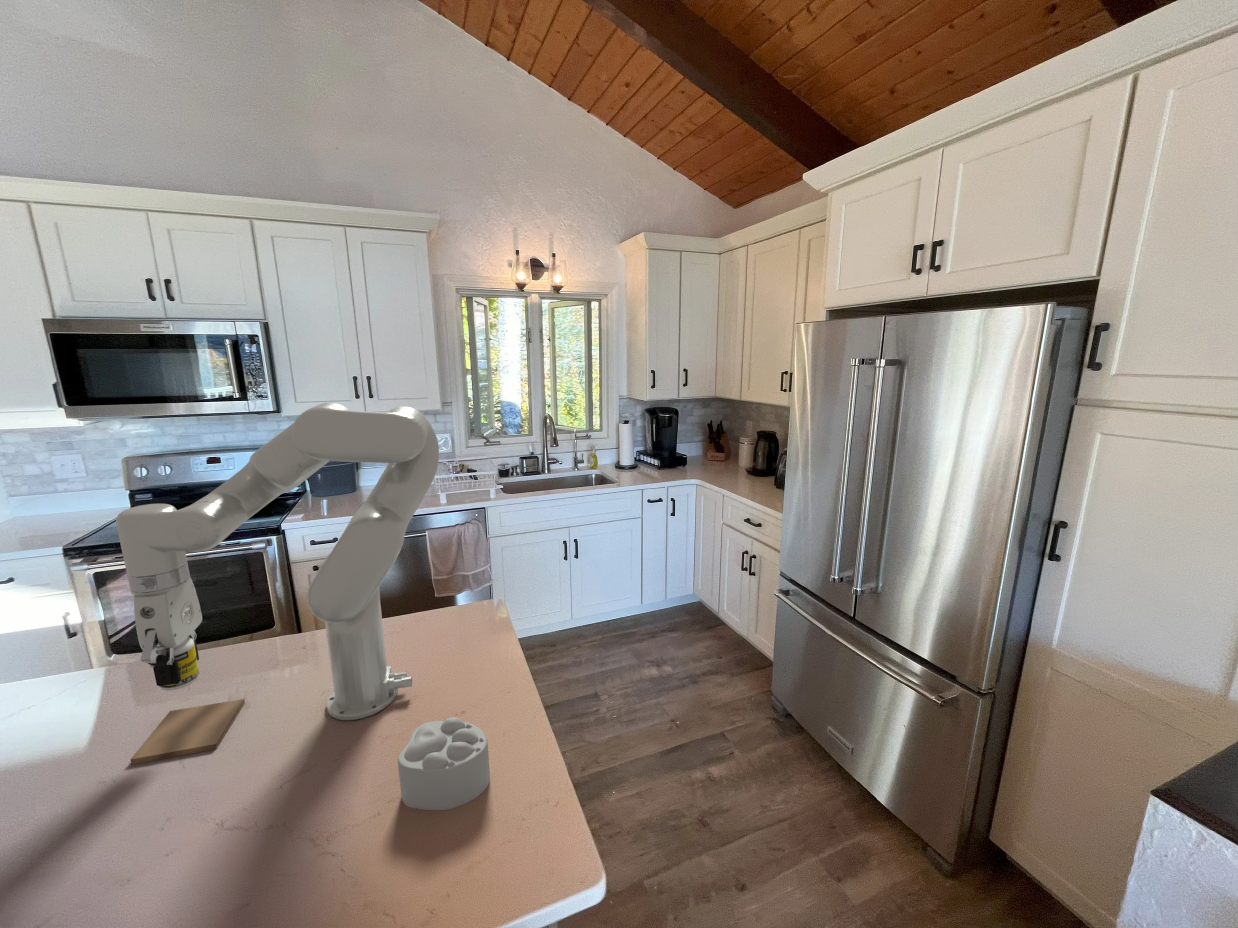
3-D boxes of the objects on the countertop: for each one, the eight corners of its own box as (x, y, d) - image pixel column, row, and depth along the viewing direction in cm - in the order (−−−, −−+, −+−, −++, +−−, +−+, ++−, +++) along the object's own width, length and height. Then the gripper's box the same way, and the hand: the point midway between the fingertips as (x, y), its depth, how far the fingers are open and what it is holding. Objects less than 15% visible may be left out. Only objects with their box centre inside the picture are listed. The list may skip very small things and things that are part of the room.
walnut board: (245, 703, 98) (244, 698, 98) (216, 748, 87) (215, 743, 87) (171, 715, 95) (170, 710, 95) (131, 764, 84) (130, 759, 83)
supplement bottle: (176, 693, 86) (166, 642, 83) (151, 689, 87) (140, 638, 84) (208, 674, 91) (199, 625, 89) (183, 670, 92) (174, 621, 90)
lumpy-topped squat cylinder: (423, 754, 86) (418, 711, 84) (497, 757, 86) (495, 713, 84) (394, 808, 76) (388, 760, 74) (479, 811, 76) (475, 763, 74)
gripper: (157, 598, 77) (178, 700, 81) (210, 555, 93) (225, 643, 97) (97, 604, 75) (121, 709, 79) (161, 559, 91) (179, 648, 95)
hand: (178, 671), depth 88 cm, fingers closed on supplement bottle, 5 cm apart
